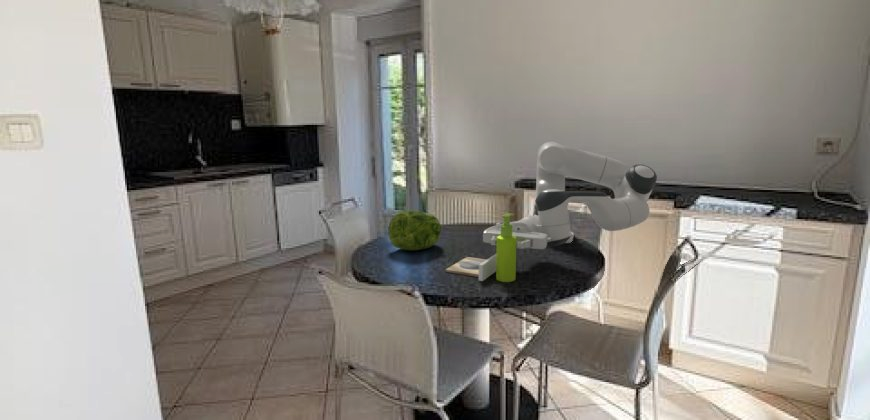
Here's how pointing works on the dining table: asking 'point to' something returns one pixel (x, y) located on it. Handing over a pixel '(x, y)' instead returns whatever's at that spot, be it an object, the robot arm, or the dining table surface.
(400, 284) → the dining table surface
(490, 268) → the low wall
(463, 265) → the oak board
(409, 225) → the lettuce
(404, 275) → the dining table surface
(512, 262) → the soap dispenser
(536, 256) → the dining table surface
